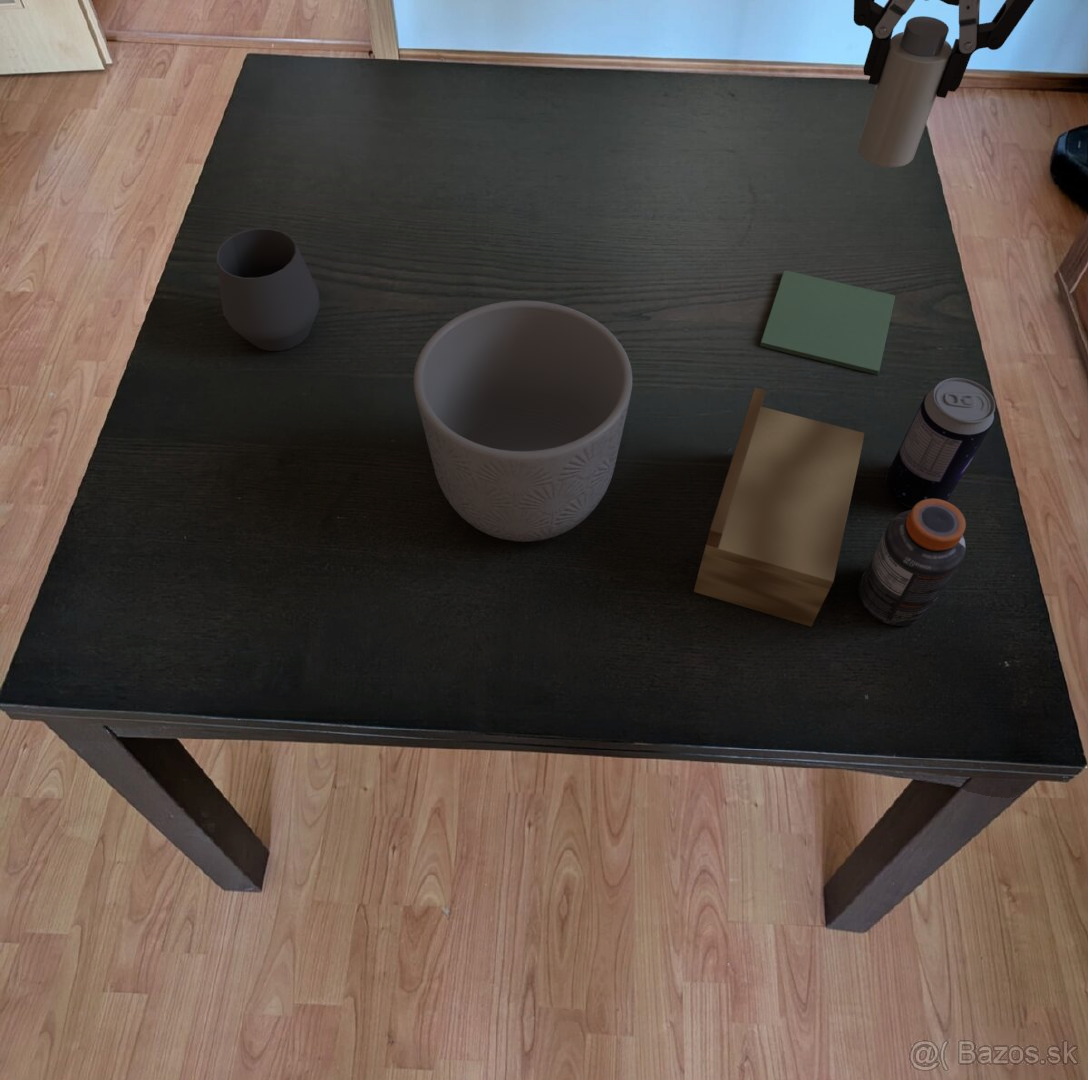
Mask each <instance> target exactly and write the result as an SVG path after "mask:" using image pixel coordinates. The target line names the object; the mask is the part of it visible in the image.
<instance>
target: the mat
mask: <svg viewBox="0 0 1088 1080" xmlns="http://www.w3.org/2000/svg"><path fill="white" fill-rule="evenodd" d="M895 299H896V295H895V294H890V293H886V292H883V291H878V290H873V289H869V288H865V287H862V286H861V287H860V286H855V285H851V284H848V283H842V282H838V281H835V280H830V279H825V278H820V277H817V276H814V275H813V276H812V275H808V274H804V273H799V272H795V271H790V270H783V272H782V275H781V278H780V282H779V284H778V287H777V291H776V294H775V297H774V299H773V303H772V306H771V310H770V312H769V315H768V319H767V322H766V325H765V328H764V331H763V335H762V337H761V340H760V344H759V346H760V347H761V348H766V349H769V350H773V351H777V352H781V353H786V354H791V355H794V356H798V357H802V358H806V359H811V360H815V361H818V362H822V363H827V364H831V365H834V366H839V367H841V368H842V367H843V368H847V369H851V370H855V371H859V372H863V373H866V374H871V375H876V376H879V373H880V371H881V366H882V362H883V356H884V352H885V347H886V342H887V338H888V333H889V329H890V323H891V318H892V314H893V309H894V304H895Z"/></svg>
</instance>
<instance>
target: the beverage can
mask: <svg viewBox="0 0 1088 1080" xmlns="http://www.w3.org/2000/svg"><path fill="white" fill-rule="evenodd" d="M995 410H996V402H995V398H994V396H993V395H992V393H991V392H990V391H989V389H987V388H986V387H985V386H983V385H982V384H980V383H979V382H976V381H974V380H971V379H968V378H962V377H951V378H946V379H944V380H942V381H940V382H938V383H937V384H936V385H935V386H934V388H932V389H931V390H929V391H928V392H927V393H926V394H925V395H924V397H923V399H922V401H921V404H920V405H919V407H918V410H917V412H916V414H915V416H914V418H913V419H912V421H911V424H910V426H909V428H908V429H907V432H906V434H905V436H904V438H903V440H902V442H901V445H900V446H899V449H898V451H897V452H896V454H895V457H894V459H893V461H892V463H891V465H890V467H889V469H888V471H887V472H886V477H885V479H886V480H885V481H886V486H887V488H888V490H889V492H890V493H891V495H892V496H893V497H894V498H895V499H896V500H897V501H898V502H899V503H901V504H902V505H904V506H906V507H908V508H911V509H913V507H914V506H915V505H916V504H917V503H918V502H920V501H922V500H925V499H940V500H944V501H947V502H948V500H949V499H950V497H951V495H952V494H953V492H954V490H955V489H956V488H957V486H958V483H959V482H960V481H961V479H962V477H963V476H964V474H965V472H966V470H967V468H968V466H969V465H970V463H971V462H972V460H973V459H974V457H975V455H976V454H977V452H978V450H979V448H980V447H981V445H982V443H983V441H984V440H985V438H986V437H987V435H988V433H989V432H990V430H991V428H992V427H993V424H994V423H995Z"/></svg>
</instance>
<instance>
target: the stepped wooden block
mask: <svg viewBox="0 0 1088 1080" xmlns="http://www.w3.org/2000/svg"><path fill="white" fill-rule="evenodd" d="M766 391H767V390H765V389H762V388H758V387H754V388H753V391H752V395H751V398H750V401H749V403H748V407H747V409H746V410H747V411H746V413H745V415H744V416H745V417H744V420H743V423H742V426H741V430H740V432H739V436H738V439H737V442H736V446H735V449H734V452H733V454H732V459H731V461H730V465H729V468H728V470H727V474H726V478H725V480H724V484H723V486H722V490H721V493H720V496H719V499H718V503H717V505H716V509H715V512H714V516H713V518H712V521H711V525H710V528H709V531H708V535H707V539H706V543H705V546H704V550H703V554H702V557H701V562H700V566H699V569H698V574H697V577H696V580H695V585H694V589H693V592H694V593H697V594H700V595H703V596H706V597H710V598H713V599H716V600H720V601H724V602H726V603H729V604H733V605H737V606H739V607H743V608H746V609H750V610H753V611H756V612H760V613H762V614H763V613H764V614H767V615H770V616H773V617H777V618H780V619H784V620H785V621H786V620H787V621H789V622H793V623H796V624H800V625H803V626H807V627H810V628H812V626H813V624H814V622H815V621H816V618H817V617H818V615H819V612H820V611H821V608H822V606H823V604H824V602H825V600H826V598H827V596H828V594H829V592H830V589H831V588H832V586H833V584H834V581H835V578H836V577H835V576H836V572H837V567H838V562H839V558H840V554H841V548H842V543H843V539H844V534H845V530H846V524H847V520H848V516H849V512H850V511H849V510H850V506H851V501H852V496H853V491H854V487H855V483H856V477H857V473H858V467H859V463H860V458H861V453H862V451H863V445H864V439H865V435H866V433H865V432H861V431H857V430H854V429H850V428H847V427H843V426H839V425H835V424H831V423H827V422H822V421H819V420H815V419H811V418H807V417H803V416H800V415H796V414H793V413H788V412H784V411H780V410H776V409H772V408H769V407H764V406H763V403H764V399H765V395H766V393H767V392H766Z"/></svg>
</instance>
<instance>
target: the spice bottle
mask: <svg viewBox="0 0 1088 1080" xmlns="http://www.w3.org/2000/svg"><path fill="white" fill-rule="evenodd" d="M949 31H950V29H949V26H948V25H947V23H946V22H944V21H943V20H941V19H939V18H936V17H931V16H926V15H924V16H923V15H922V16H920V15H919V16H913V17H911V18H909V19H908V20H907V21H906V23H905V25H904V28H903V31H901V32H898V33H896V34H894V35H892V37H891V40H890V44H889V47H888V50H887V53H886V57H885V60H884V63H883V66H882V69H881V73H880V76H879V79H878V82H877V85H875V86H874V87H875V88H874V90H873V94H872V97H871V100H870V102H869V106H868V110H867V113H866V116H865V120H864V122H863V126H862V129H861V132H860V135H859V138H858V142H857V145H856V147H857V152H858V154H859V155H860V157H861V158H862V159H863V160H865V161H866V162H868V163H870V164H872V165H875V166H878V167H882V168H891V169H892V168H901V167H904V166H906V165H908V164H910V163H911V162H912V161H913V160H914V158H915V155H916V153H917V150H918V147H919V144H920V141H921V140H922V136H923V134H924V130H925V128H926V125H927V123H928V120H929V118H930V115H931V111H932V109H933V106H934V103H935V101H936V99H937V97H936V96H937V93H938V90H939V87H940V84H941V82H942V79H943V76H944V74H945V71H946V68H947V65H948V63H949V60H950V57H951V54H952V47H953V46H952V45H951V44H950V42H948V41H947V40H946V39H947V37H948V35H949Z"/></svg>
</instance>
